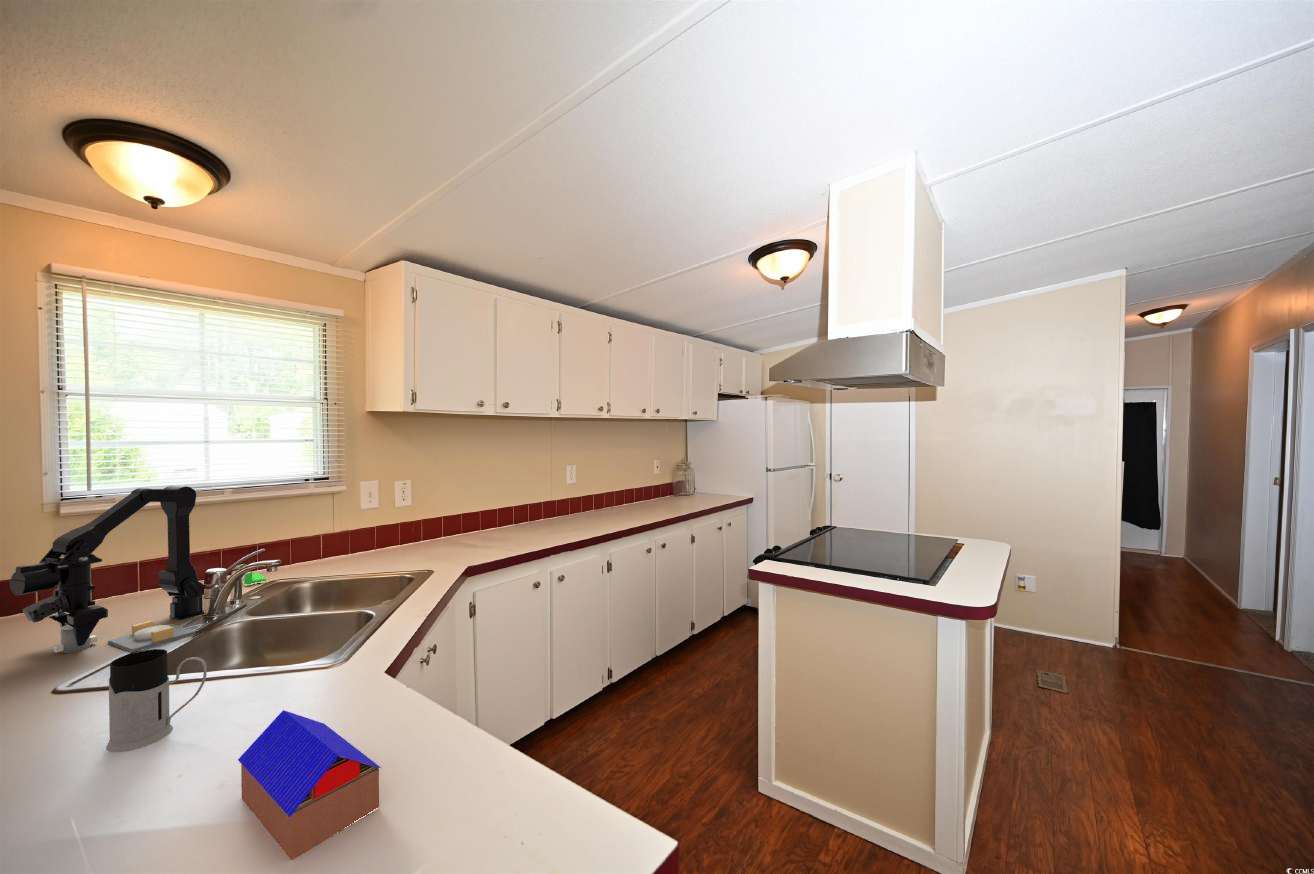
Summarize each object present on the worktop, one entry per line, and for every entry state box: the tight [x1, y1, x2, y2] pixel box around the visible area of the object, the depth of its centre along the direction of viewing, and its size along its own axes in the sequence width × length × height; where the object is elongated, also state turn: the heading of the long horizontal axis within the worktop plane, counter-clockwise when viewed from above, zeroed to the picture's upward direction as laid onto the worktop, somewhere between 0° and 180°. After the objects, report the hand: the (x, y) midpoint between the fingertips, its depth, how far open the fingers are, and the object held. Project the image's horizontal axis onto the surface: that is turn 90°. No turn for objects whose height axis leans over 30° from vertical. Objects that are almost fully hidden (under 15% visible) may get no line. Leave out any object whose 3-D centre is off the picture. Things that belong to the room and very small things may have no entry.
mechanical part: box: [243, 571, 267, 584], centre depth 191 cm, size 12×6×8 cm, turn 48°
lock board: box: [107, 620, 196, 653], centre depth 140 cm, size 13×13×4 cm
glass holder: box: [105, 648, 208, 753], centre depth 96 cm, size 9×14×15 cm, turn 112°
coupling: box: [53, 625, 98, 654], centre depth 133 cm, size 7×5×6 cm
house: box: [237, 709, 382, 861], centre depth 78 cm, size 12×20×12 cm, turn 54°
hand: (75, 643), depth 133 cm, fingers open, 6 cm apart
